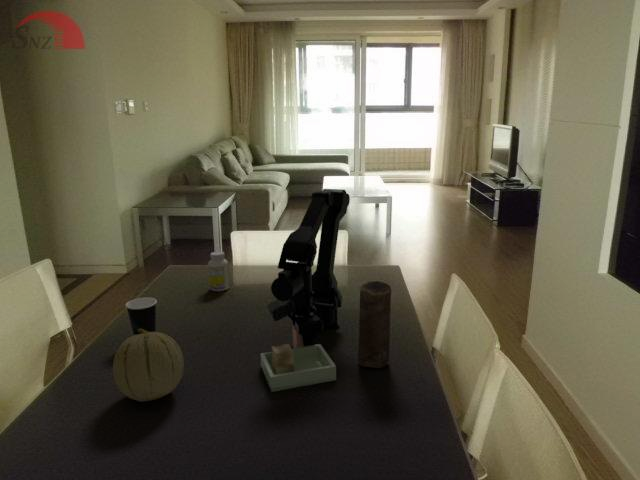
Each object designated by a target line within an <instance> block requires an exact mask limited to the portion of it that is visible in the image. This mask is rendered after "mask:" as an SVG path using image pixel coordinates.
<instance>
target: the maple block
mask: <svg viewBox="0 0 640 480" xmlns="http://www.w3.org/2000/svg"><path fill="white" fill-rule="evenodd" d="M271 352H272V360H273V371H274V373H275V375H277V374H283V373H289V372H294V360H293V350H292V346H291V345H290V344H289V343H284V344H278V345H271Z"/></svg>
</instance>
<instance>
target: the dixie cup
mask: <svg viewBox="0 0 640 480" xmlns="http://www.w3.org/2000/svg"><path fill="white" fill-rule="evenodd" d="M157 300H158V299H156V298H154V297H146V296H145V297H138V298H135V299H132V300H129V301H127V302H126V303H125V307H126V308H127V309H126V310H127V314H128V317H129V321H130V325H131V328H132V333H133V336H134V335H137V334H140V333H141V332H137V331H138V329H144V330H145V331H147V332H157V330H156V325H157V323H156V322H157V311H156V310H157V302H158V301H157Z"/></svg>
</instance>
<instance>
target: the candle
mask: <svg viewBox="0 0 640 480" xmlns="http://www.w3.org/2000/svg"><path fill="white" fill-rule="evenodd" d="M391 300H392V288H391V285H390V284H388V283H386V282H383V281H380V280H376V281H367V282H365V283H363V284H362V285H361V286H360V290H359V319H358V321H359V324H358V325H359V326H358V329H359V330H358V358H357V360H358V361H357V362H358V364H359V365H360V366H361V367H365V368H372V369H377V370H378V369H381V368H383V367H385V366H386V365H388V363H389V362H390V344H391V343H390V341H391V340H390V338H391V335H390V334H391V328H390V327H391V310H392V309H391V303H392V301H391Z"/></svg>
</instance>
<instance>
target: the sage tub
mask: <svg viewBox="0 0 640 480" xmlns="http://www.w3.org/2000/svg"><path fill="white" fill-rule="evenodd" d="M291 348H292V347H291ZM292 350H293V360H294V372H289V373H283V374H277V375H275V373H274V371H273V360H272V351H268V352H262V353H260V367H261V370H262V372H263V374H264V377H265V379H266V381H267V384H268V386H269V389H270V392H271V393H272V392H278V391H283V390H289V389H290V390H291V389H294V388H300V387H307V386H311V385H316V384H321V383H322V384H323V383H327V382H333V381H337V366H336V364H335V362H333V360H332V358H331V357H330V355H329V354H328V353H327V351H326V350H325V348H324V347H323V345H322V344H320V343H318V344H312V345H311V346H304V347H298V348H294V347H293V348H292Z"/></svg>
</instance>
